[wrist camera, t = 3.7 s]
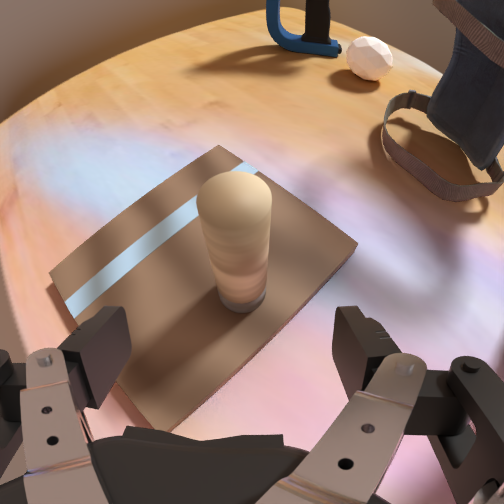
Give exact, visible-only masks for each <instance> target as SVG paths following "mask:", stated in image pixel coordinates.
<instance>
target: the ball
mask: <svg viewBox="0 0 504 504" xmlns="http://www.w3.org/2000/svg"><path fill="white" fill-rule="evenodd" d="M346 52H347V64H348V66H349V67H350V69H351V70H352V72H353V73H354V74H356V75H358V76H359V77H361V78H362V79H364V80H375V81H377V80H379V79H381V78H382V77H384V76H386V75H387V73H388V72H389V71H390V70H391V68H392V67H393V63H392V54H391V52H390V50H389V48H388V46H387V44H385V43H383V42H382V41H380V40H379V39H377V38H375V37H360V38H358V39H356V40H354V41H352V43H351V44H350V46H349V48H348V49H347V51H346Z"/></svg>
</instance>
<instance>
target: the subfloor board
mask: <svg viewBox="0 0 504 504" xmlns="http://www.w3.org/2000/svg"><path fill="white" fill-rule="evenodd" d="M230 171H242V172H247V173H251V174H253V175H256V176H258V177H259V178H261V179H262V180H263V181H264V182H265V183H266V184H267V185H268V187H269V189H270V191H271V195H272V206H271V222H270V238H269V253H268V268H267V282H266V295H265V298H264V301H263V302H262V304H261V305H260V306H259V307H258V308H257V309H255V310H253V311H251V312H248V313H236V312H233V311H231V310H229V309H228V308H226V307H225V306H224V305H223V303H222V302H221V300H220V297H219V293H218V289H217V285H216V282H215V278H214V274H213V270H212V266H211V262H210V258H209V255H208V251H207V247H206V243H205V239H204V235H203V231H202V226H201V222H200V218H199V214H198V210H197V205H196V198H197V194H198V192H199V190H200V188H201V187H202V185H203V184H204V183H205V182H206V181H208V180H209V179H210V178H212V177H214V176H216V175H218V174H221V173H224V172H230ZM357 245H358V243H357V242H356V241H355V240H353V239H352V238H351V237H350V236H348V235H347V234H346V233H344V232H343V231H342V230H340V229H339V228H338V227H336V226H335V225H334V224H332V223H331V222H330V221H328V220H327V219H326V218H324V217H323V216H322V215H320V214H319V213H317V212H316V211H315V210H313V209H312V208H311V207H309V206H308V205H306V204H305V203H304V202H302V201H301V200H299V199H298V198H297V197H295V196H294V195H292V194H291V193H290V192H288V191H287V190H285V189H284V188H282V187H281V186H280V185H278V184H277V183H275V182H274V181H272V180H271V179H270V178H268V177H267V176H265V175H264V174H262V173H261V172H259V171H258V170H257V169H255V168H254V167H252V166H251V165H249V164H248V163H246V162H245V161H243V160H241V159H240V158H238V157H237V156H235V155H234V154H232V153H231V152H229V151H228V150H226V149H225V148H223V147H221V146H220V145H218V146H216V147H214V148H213V149H211V150H210V151H208V152H207V153H205V154H203V155H202V156H200V157H199V158H197V159H196V160H194V161H193V162H191V163H190V164H188V165H187V166H185V167H184V168H182V169H181V170H179V171H178V172H177V173H175V174H174V175H172V176H171V177H169V178H168V179H166V180H165V181H164V182H162V183H161V184H159V185H158V186H157V187H155V188H154V189H152V190H151V191H150V192H148V193H147V194H145V195H144V196H143V197H141V198H140V199H139V200H137V201H136V202H135V203H133V204H132V205H131V206H129V207H128V208H127V209H125V210H124V211H123V212H121V213H120V214H119V215H117V216H116V217H115V218H114V219H112V220H111V221H110V222H109V223H107V224H106V225H105V226H103V227H102V228H101V229H100V230H98V231H97V232H96V233H95V234H94V235H92V236H91V237H90V238H89V239H87V240H86V241H85V242H84V243H83V244H81V245H80V246H79V247H78V248H77V249H75V250H74V251H73V252H72V253H71V254H70V255H68V256H67V257H66V258H65V259H64V260H63V261H62V262H60V263H59V264H58V265H57V266H56V267H55V268H54V269H53V270H51V271H50V272H49V274H50V276H51V278H52V280H53V282H54V284H55V286H56V288H57V290H58V291H59V293H60V295H61V297H62V299H63V300H64V302H65V304H66V306H67V308H68V309H69V311H70V313H71V314H72V316H73V318H74V319H75V321H76V322H77V324H78V326H79V325H80V324H81V323H83V322H84V321H86V320H88V319H90V318H92V317H93V316H94V315H95V314H96V313H97V312H98V311H99V310H100V309H101V308H102V307H104V306H122V307H123V308H124V309H125V312H126V317H127V322H128V328H129V333H130V338H131V343H132V351H131V356H130V358H129V360H128V361H127V363H126V364H125V366H124V368H123V369H122V371H121V373H120V374H119V376H118V378H117V379H116V382H117V383H118V384H119V386H120V387H121V388H122V390H123V391H124V392H125V394H126V395H127V396H128V397H129V399H130V400H131V401H132V403H133V404H134V405H135V406H136V408H137V409H138V410H139V411H140V412H141V414H142V415H143V416H144V417H145V418H146V420H147V421H148V422H149V423H150V424H151V425H152V427H153V428H154V429H155V430H163V431H166V432H171V431H172V430H173V429H174V428H175V427H177V426H178V425H179V424H180V423H181V422H182V421H184V420H185V419H186V418H187V417H188V416H189V415H190V414H192V413H193V412H194V411H195V410H196V409H197V408H198V407H200V406H201V405H202V404H203V403H204V402H205V401H206V400H207V399H209V398H210V397H211V396H212V395H213V394H214V393H215V392H216V391H217V390H219V389H220V388H221V387H222V386H223V385H224V384H225V383H226V382H227V381H228V380H229V379H231V378H232V377H233V376H234V375H235V374H236V373H237V372H238V371H239V370H240V369H241V368H242V367H243V366H244V365H245V364H246V363H248V362H249V361H250V360H251V359H252V358H253V357H254V356H255V355H256V354H257V353H258V352H259V351H260V350H261V349H262V348H263V347H264V346H265V345H266V344H267V343H268V342H269V341H270V340H271V339H272V338H273V337H274V336H275V335H276V334H277V333H278V332H279V331H280V330H281V329H282V328H283V327H284V326H285V325H286V324H287V323H288V322H289V321H290V320H291V319H292V318H293V317H294V316H295V315H296V314H297V313H298V312H299V311H300V310H301V309H302V308H303V307H304V306H305V305H306V304H307V303H308V302H309V301H310V299H311V298H312V297H313V296H314V295H315V294H316V293H317V292H318V291H319V290H320V289H321V288H322V287H323V286H324V285H325V284H326V282H327V281H328V280H329V279H330V278H331V277H332V276H333V275H334V274H335V273H336V272H337V271H338V269H339V268H340V267H341V266H342V265H343V264H344V263H345V262H346V261H347V259H348V258H349V257H350V256H351V255H352V254H353V253H354V251H355V249H356V247H357Z"/></svg>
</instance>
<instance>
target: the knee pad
mask: <svg viewBox="0 0 504 504" xmlns="http://www.w3.org/2000/svg"><path fill="white" fill-rule="evenodd" d="M433 5H434V6H435V7H436V8H437V9H438V10H439V11H440V12H441V13H442V14H443V15H444V16H446V17H447V18H448V19H449V20H450V21H451V22H452V23H453V24H454V25H455V26H456V37H455V42H454V49H453V55H452V58H451V60H450V63H449V65H448V67H447V69H446V71H445V73H444V74H443V76H442V78H441V80H440V81H439V83H438V85H437V86H436V88H435V90H434V92H433V94H432V96H427V95H423V94H419V93H416V91H415V90H409V92H408V93H402V94H399V95H397V96H395V97H394V98H392V99H391V100H390V102H389V104H388V106H387V108H386V112H385V116H384V124H383V133H382V138H383V145H384V147H385V150H386V151H387V152H388V153H389V155H390V156H391V157H392V158H393V159H394V160H395V161H396V162H397V163H398V164H399V165H400V166H401V167H403V168H404V169H405V170H407V171H408V172H409V173H410V174H412V175H413V176H414V177H415V178H416V179H418V180H419V181H420V182H421V183H422V184H423V185H424V186H425V187H426V188H428V189H429V190H430V191H431V192H432V193H434V194H435V195H437V196H438V197H440V198H441V199H443V200H449V201H454V202H458V201H465V200H469V199H473V198H477V197H482V196H489V195H492V194H493V193H494V192H495V191H496V190H497V189H498V188H499V187H500V186H501V185H502V184H503V183H504V171H502V168H501V166H500V164H499V162H498V159H497V157H496V156H497V155H498V153H499V151H500V150H501V148H502V147H503V145H504V0H433ZM411 107H412V108H414V109H417V110H419V111H422V112H424V113H425V114H427V118H428V119H429V120H430V121H431V122H432V124H433V125H434V126H435V127H436V128H437V129H438V130H440V131H441V132H442V133H443V134H445V135H446V136H447V137H448V138H450V139H451V140H452V141H454V142H455V143H456V144H458V145H459V146H460V147H461V149H462V150H463V151H464V153H465V154H466V155H467V157H468V158H469V159H470V161H471V162H472V163H473V165H474V166H476V167H477V168H478V169H480V170H481V171H482V170H484V169H485V168H486V171H487V173H488V174H489V175H490V177H491V179H492V182H493V183H492V182H489V183H479V184H474V185H462V186H460V185H456V184H452V183H450V182H448V181H447V180H445V179H443V178H441V177H440V176H439V175H438V174H437V173H436V172H434V171H433V170H432V169H431V168H430V167H428V166H427V165H426V164H424V163H423V162H422V161H421V160H419V159H418V158H416V157H415V156H413V155H412V154H410V153H409V152H407V151H406V150H405V149H403V148H402V147H401V146H400V145H398V144H397V143H396V142H395V141H394V140H393V139H392V138H391V137H390V135H389V134H388V132H387V129H386V127H385V125H386V122H387V120H388V117H389V116H390V115H391V114H392V113H393V112H394V111H396V110H398V109H401V108H405V109H411Z"/></svg>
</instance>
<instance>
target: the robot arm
mask: <svg viewBox="0 0 504 504" xmlns="http://www.w3.org/2000/svg"><path fill="white" fill-rule="evenodd" d="M131 351H132V343H131V338H130V333H129V328H128V322H127V317H126V312H125V309H124V308H123V307H122V306H104V307H102V308H101V309H100V310H99V311H98V312H97V313H96V314H95V315H94V316H93V317H92V318H90V319H88V320H86V321H84V322H83V323H81V324H80V325H79V326H78V327H77V330H74V331H73V332H72V333H71V335H69V336H68V337H67V338H66V339H65V340H64V341H63V342H62V343H61V345H60V346H59V347H58V348H57V349H56V348H44V349H40V350H37V351H35V352H33V353H32V354H31V355H29V356H28V358H27V360H26V363H12V362H11V359H10V356H9V353H8V352H7V351H5V350H1V349H0V478H1V477H2V475H3V473H4V471H5V470H6V468H7V466H8V465H9V463H10V461H11V460H12V458H13V456H14V455H15V453H16V451H17V450H18V448H19V446H20V445H21V443H22V441H23V442H24V451H25V458H26V465H27V472H26V473H25V474H24V475H23V476H20V477H18V478H16V479H14V480H11V481H9V482H7V483H4V484H2V485H0V504H391V503H389V502H388V501H386V500H384V499H383V498H381V497H380V496H378V495H376V492H377V490H378V488H379V486H380V484H381V483H382V481H383V479H384V477H385V475H386V473H387V471H388V469H389V467H390V465H391V463H392V460H393V458H394V456H395V454H396V452H397V450H398V448H399V445H400V443H401V441H402V439H403V436H404V435H427V437H428V439H429V441H430V443H431V446H432V448H433V450H434V452H435V454H436V457H437V459H438V461H439V463H440V465H441V468H442V470H443V472H444V475H445V477H446V479H447V482H448V484H449V486H450V489H451V491H452V493H453V496H454V498H455V501H456V503H457V504H504V382H503V381H502V380H501V379H500V378H499V377H498V376H497V374H496V373H495V372H494V371H493V370H492V369H491V368H490V367H489V365H488V364H487V363H485V362H484V361H482V360H481V359H478V358H475V357H471V356H461V357H458V358H456V359H454V360H453V361H452V363H451V366H450V369H449V371H440V370H427V366H426V363H425V362H424V361H423V360H422V359H421V358H419V357H417V356H415V355H412V354H407V353H402V352H401V350H400V349H399V348H398V346H397V345H396V344H395V342H394V341H393V340H392V338H390V336H389V334H388V333H387V332H386V330H385V329H384V328H383V326H382V325H381V324H380V323H379V322H377V321H376V320H374V319H372V318H365V316H364V315H363V313H362V312H361V311H360V309H359V308H358V306H342V307H337V308H336V312H335V322H334V332H333V341H332V355H333V360H334V363H335V365H336V368H337V370H338V373H339V376H340V378H341V381H342V383H343V386H344V389H345V391H346V394H347V397H348V399H349V402H348V403H347V405H346V406H345V407H344V409H343V410H342V412H341V413H340V414H339V416H338V417H337V418H336V420H335V421H334V422H333V424H332V425H331V426H330V428H329V429H328V430H327V432H326V433H325V434H324V435H323V437H322V438H321V439H320V440H319V442H318V443H317V444H316V445H315V447H314V448H313V449H312V450H311V452H309V451H306V450H303V449H299V448H295V447H291V446H285V445H284V442H283V434H280V435H240V436H234V437H228V438H221V439H214V440H206V441H198V440H193V439H190V438H186V437H183V436H179V435H176V434H172V433H169V432H166V431H163V430H155V429H147V428H140V427H133V426H126V429H125V431H124V433H123V435H122V436H113V437H107V438H102V439H99V440H96V441H94V438H93V435H92V433H91V430H90V427H89V424H88V421H87V419H86V416H85V413H84V411H83V410H84V409H85V407H88V408H93V409H99V408H100V406H101V405H102V403H103V401H104V399H105V398H106V396H107V394H108V393H109V391H110V389H111V388H112V386H113V384H114V383H115V381H116V379H117V378H118V376H119V374H120V373H121V371H122V369H123V368H124V366H125V364H126V363H127V361H128V360H129V358H130V356H131ZM470 420H472V422H473V423H474V425H475V427H476V435H475V434H474V432H473V430H472V429H471V427H470V425H469V422H470Z"/></svg>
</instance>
